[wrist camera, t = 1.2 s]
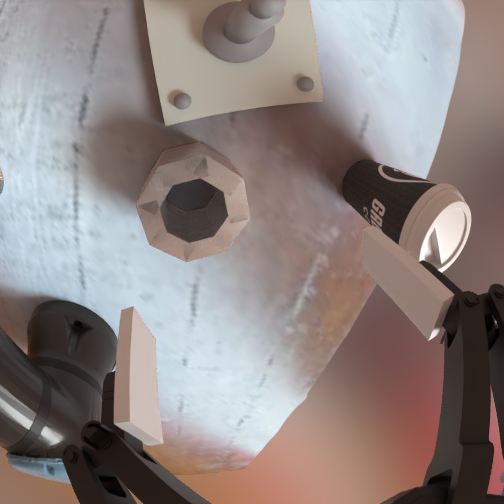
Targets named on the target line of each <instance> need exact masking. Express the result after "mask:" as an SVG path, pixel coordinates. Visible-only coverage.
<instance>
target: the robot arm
mask: <svg viewBox="0 0 504 504" xmlns="http://www.w3.org/2000/svg"><path fill="white" fill-rule="evenodd" d="M362 268H363V269H364V270H365V271H366V272H367V273H368V274H369V275H370V276H371V277H372V278H373V279H374V280H375V281H376V282H377V283H378V284H379V286H380V287H381V288H382V289H383V290H384V291H385V292H386V293H387V294H388V295H389V296H390V297H391V298H392V300H393V301H394V302H395V303H396V304H397V305H398V306H399V307H400V308H401V310H402V311H403V312H404V313H405V314H406V315H407V316H408V317H409V318H410V320H411V321H412V322H413V323H414V324H415V325H416V327H417V328H418V329H419V330H420V331H421V332H422V334H423V335H424V336H425V337H426V338H427V340H428V341H429V340H430V339H432V338H433V337H435V336H436V335H438V334H439V332H440V330H441V328H442V326H443V327H444V328H445V329H446V330H445V332H444V335H443V337H442V339H441V342H440V343H441V344H442V343H443V341H445V351H444V354H445V355H444V381H443V395H442V407H441V414H440V422H439V429H438V435H437V441H436V447H435V452H434V456H433V459H432V461H431V463H430V465H429V466H428V469H427V472H426V475H425V479H424V482H423V486H421V487H415V488H413V489H409V490H407V491H403V492H400V493H398V494H397V495H395V496H393V497H391V498H390V499H388V500H386V501H384V502H382V503H381V504H504V488H503V491H502V493H501V495H493V494H487V490H488V485H489V480H490V475H491V469H492V463H493V456H494V446H493V443H491V442H490V441H489V427H490V403H491V400H490V399H491V395H490V394H491V393H490V391H491V390H490V383H491V388H492V392H493V397H494V402H495V407H496V412H497V418H498V424H499V432H500V439H501V448H502V455H503V459H504V286H502V285H500V284H493V285H491V286H490V288H489V290H488V293H484V294H481V295H477V294H475V293H473V292H470V291H466V292H462V291H461V290H460V289H459V288H458V287H457V286H456V285H455V284H454V283H453V282H451V281H450V280H449V279H448V278H447V277H446V276H445V275H443V274H442V273H441V272H440V271H438V269H437V268H436V267H434V266H433V265H432V264H431V263H428V262H426V261H424V260H422V261H420V262H418V261H417V260H415V259H414V258H413V257H412V256H411V255H410V254H408V253H407V252H406V251H405V250H404V249H402V248H401V247H400V246H399V245H398V244H396V243H395V242H394V241H393V240H391V239H390V238H389V237H388V236H386V235H385V234H384V233H383V232H381V231H380V230H379V229H378V228H376V227H375V226H374V225H372V226H369V227H366V228H364V229H363V241H362ZM496 323H497V325H498V327H497V325H496ZM27 335H28V356H27V355H26V354H25V353H24V352H23V351H22V350H21V349H20V348H19V347H18V346H17V345H16V343H15V342H14V341H13V340H12V339H11V338H10V337H9V336H8V335H7V334H6V332H5V331H4V330H3V329H2V328H1V327H0V446H1V447H3V448H4V449H6V450H7V451H8V453H7V454H6V456H7V458H8V463H9V464H10V466H11V467H14V468H15V469H17V470H19V471H22V472H25V473H28V474H31V475H34V476H37V477H41V478H45V479H48V480H53V481H58V482H63V483H69V484H71V485H72V487H73V489H74V492H75V494H76V496H77V498H78V500H79V502H80V504H137V503H136V501H135V500H134V498H133V497H132V495H131V493H130V492H129V490H130V491H131V492H132V493H133V494H134V495H135V496H136V497H137V498H138V499H139V500H140V501H141V502H142V503H143V504H211V503H210V502H208V501H207V500H205V499H204V498H202V497H201V496H200V495H198V494H197V493H196V492H194V491H193V490H192V489H190V488H189V487H188V486H186V485H185V484H184V483H182V482H181V481H180V480H178V479H177V478H176V477H175V476H174V475H173V474H171V473H170V472H169V471H168V470H167V469H165V468H164V467H163V466H162V465H161V464H160V463H159V462H157V461H156V460H155V459H154V458H153V457H152V456H151V455H150V454H149V453H148V452H147V451H145V450H144V449H143V445H142V442H143V443H145V444H146V445H148V446H151V445H158V444H163V437H162V429H161V420H160V410H159V398H158V384H157V367H156V339H155V337H154V336H153V335H152V333H151V332H150V330H149V329H148V327H147V326H146V324H145V323H144V321H143V320H142V318H141V317H140V315H139V314H138V312H137V311H136V309H135V308H134V306H133V307H130V308H127V309H123V310H121V318H120V326H119V335H118V340H117V337H116V335H115V333H114V331H113V330H112V328H111V327H110V326H109V325H108V324H107V323H106V322H105V321H104V320H103V319H102V318H101V317H99V316H98V315H97V314H95V313H94V312H92V311H90V310H88V309H86V308H84V307H82V306H79V305H77V304H73V303H69V302H64V301H51V302H47V303H44V304H42V305H40V306H39V307H37V308H36V309H35V311H34V312H33V314H32V317H31V319H30V322H29V324H28V330H27ZM115 365H116V369H115V371H114V372H111V371H112V370H113V369H114V367H115ZM500 480H501V482H502V483H504V472H503V473H502V474H501V476H500ZM127 488H128V489H129V490H128V489H127Z"/></svg>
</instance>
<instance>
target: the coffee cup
mask: <svg viewBox="0 0 504 504" xmlns="http://www.w3.org/2000/svg"><path fill="white" fill-rule="evenodd" d="M343 194H344V197H345V199H346V201H347V202H348V203H349V204H350V205H351V206H352V207H353V208H354V209H355V210H356V211H357V212H358V213H359V214H360V215H361V216H362V217H363V218H364V219H365V220H366V221H367V222H368V223H369V224H370V225H371V226H372V225H374V226H375V227H376V228H378V229H379V230H380V231H381V232H383V233H384V234H385V235H386V236H388V237H389V238H390V239H391V240H393V241H394V242H395V243H396V244H398V245H399V246H400V247H401V248H402V249H404V250H405V251H406V252H407V253H408V254H410V255H411V256H412V257H413V258H414V259H415V260H417V261H418V262H420V261H422V260H424V261H426V262H428V263H431V264H432V265H433V266H434V267H436V268H437V269H438V271H440V272H443V271H444V270H446V269H447V268H448V267H449V266H450V265H451V264H452V263H453V262H454V261H455V259H456V258H457V257H458V255H459V254H460V252H461V251H462V249H463V247H464V245H465V243H466V240H467V238H468V235H469V231H470V226H471V212H470V209H469V207H468V205H467V204H466V203H465V201H464V199H463V197H462V195H461V194H460V193H459V191H457V189H456V188H455V187H453V186H452V185H450V184H435V183H433V182H430V181H428V180H425V179H422V178H420V177H417V176H414V175H411V174H409V173H406V172H403V171H400V170H397V169H394V168H391V167H388V166H385V165H382V164H379V163H376V162H373V161H369V160H363V161H359V162H357V163H355V164H354V165H353V166H352V167H351V168H350V169H349V170H348V172H347V173H346V175H345V178H344V181H343Z"/></svg>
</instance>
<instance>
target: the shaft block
mask: <svg viewBox="0 0 504 504" xmlns="http://www.w3.org/2000/svg"><path fill="white" fill-rule="evenodd" d="M144 7H145V14H146V21H147V28H148V35H149V41H150V47H151V54H152V59H153V65H154V71H155V76H156V82H157V87H158V92H159V97H160V102H161V107H162V112H163V117H164V121H165V126H169V125H172V124H176V123H180V122H185V121H189V120H193V119H198V118H202V117H207V116H212V115H217V114H222V113H228V112H234V111H240V110H246V109H253V108H260V107H267V106H276V105H285V104H295V103H307V102H323V101H324V100H323V90H322V80H321V72H320V64H319V56H318V49H317V42H316V35H315V29H314V23H313V17H312V12H311V6H310V1H309V0H144Z"/></svg>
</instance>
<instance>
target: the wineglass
mask: <svg viewBox="0 0 504 504" xmlns="http://www.w3.org/2000/svg"><path fill="white" fill-rule="evenodd" d="M3 184H4V179H3V173H2V171H1V169H0V194H1V192H2V190H3Z"/></svg>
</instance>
